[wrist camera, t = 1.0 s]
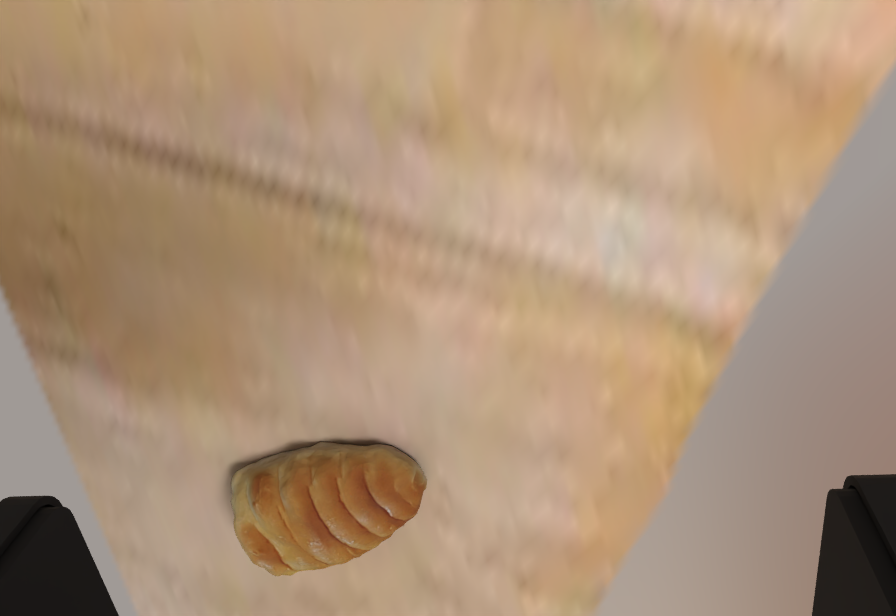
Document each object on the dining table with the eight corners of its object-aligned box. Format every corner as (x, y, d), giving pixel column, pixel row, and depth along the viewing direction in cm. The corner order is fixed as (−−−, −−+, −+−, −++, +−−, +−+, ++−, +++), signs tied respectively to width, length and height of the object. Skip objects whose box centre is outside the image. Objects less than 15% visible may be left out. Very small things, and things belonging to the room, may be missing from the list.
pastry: (389, 404, 38) (374, 456, 34) (453, 504, 40) (445, 562, 37) (228, 462, 41) (201, 515, 37) (298, 552, 43) (278, 610, 40)
